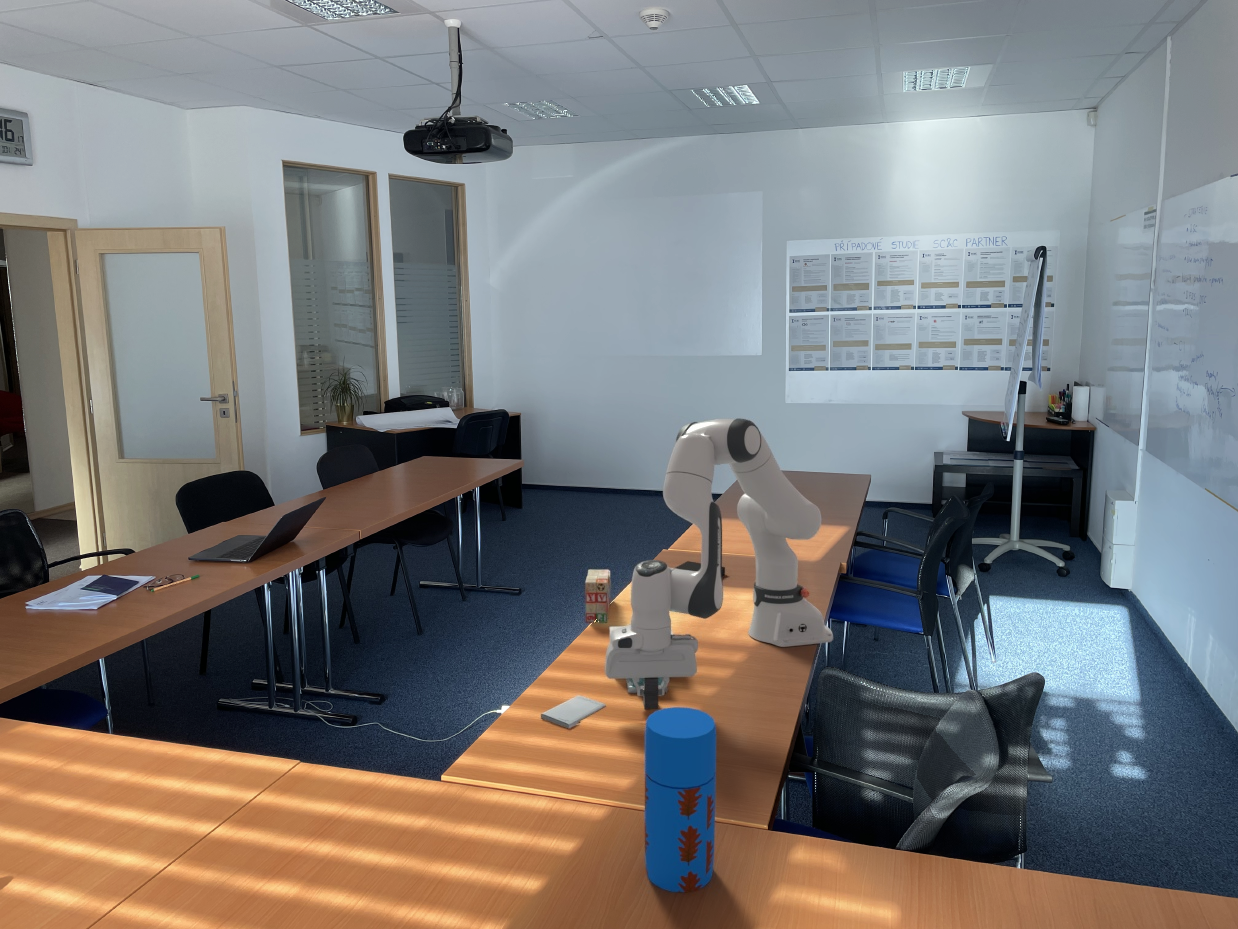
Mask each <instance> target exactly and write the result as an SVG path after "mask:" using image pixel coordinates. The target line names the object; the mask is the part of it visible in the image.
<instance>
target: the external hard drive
mask: <svg viewBox="0 0 1238 929" xmlns="http://www.w3.org/2000/svg"><path fill="white" fill-rule="evenodd" d="M674 568H677V569H681V570H689V571H699V570H700V569H701V562H695V561H689V560H687V561H684V562H683V563H681V564H679V565H677V566H676V567H674ZM725 575H726V567H725V566H722V577H723V576H725Z"/></svg>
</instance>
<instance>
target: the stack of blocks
mask: <svg viewBox="0 0 1238 929" xmlns="http://www.w3.org/2000/svg"><path fill="white" fill-rule="evenodd" d="M584 585H585V586H584V588H585V590H584V591H585V593H584V594H585V596H584V597H585V598H584V599H585V601H584V602H585V613H584V616H585V622H584V623H585V624H597V623H596V622H598V621H599V623H598V624H607V623H608V620H609V615H610V606H611V601H612V596H611V595H612V594H611V593H612V582H611V570H609V569H588V570H587V576H586V579H585V584H584ZM596 619H597V620H596ZM595 620H596V622H595V623H594V621H595Z"/></svg>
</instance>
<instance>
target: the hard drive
mask: <svg viewBox="0 0 1238 929" xmlns="http://www.w3.org/2000/svg"><path fill="white" fill-rule="evenodd" d="M605 707H607V706H606V704H605V703H603V702H601V701H597V700H595V699H592V698H589V697H587V696H586V697H585V696H582V695H581V694H578V695H575V696H574V697H572V698H570V699H568V700H566V701H564V702H562V703H560V704H558V705H556V706H554V707H552V708H550V709H548V710H546V711H545V712H541V713H540V718H541V719H542V720H544V721H548V722H550V723H553V724H556V725H559V726H561V727H563V728H567V729H571V728H572V727H575V726H577V725H578V724H580V723H581V721H582V720H583V719H585V718H587V717H589V716H590V715H592V714H594V713H596V712H598V711H599V710H602V709H604V708H605Z"/></svg>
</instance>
